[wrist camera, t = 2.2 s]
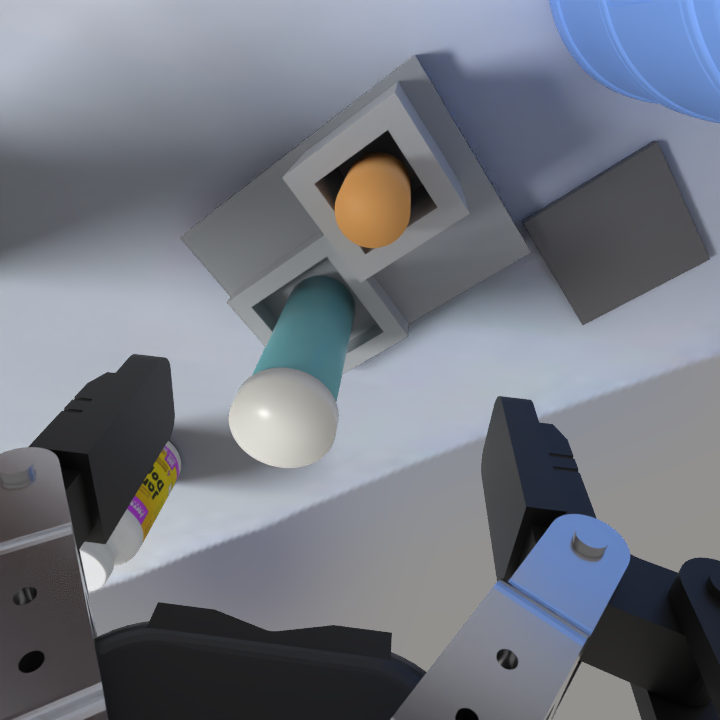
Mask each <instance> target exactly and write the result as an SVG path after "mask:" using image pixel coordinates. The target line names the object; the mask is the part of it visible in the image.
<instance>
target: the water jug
mask: <svg viewBox="0 0 720 720" xmlns="http://www.w3.org/2000/svg"><path fill="white" fill-rule="evenodd" d="M549 1H550V6H551V10H552V14H553V17H554V20H555V23H556V26H557V29H558V31H559V33H560V36H561V38H562V40H563V42H564V43H565V45H566V47H567V49H568V50H569V52H570V53H571V55H572V56H573V57H574V59H575V60H576V61H577V63H578V64H579V65H580V66H581V67H582V68H583V69H584V70H585V71H586V72H587V73H588V74H589V75H590V76H591V77H593V78H594V79H595V80H597V81H598V82H599V83H601V84H602V85H604V86H606V87H607V88H609V89H611V90H613V91H615V92H617V93H620V94H622V95H625V96H628V97H631V98H635V99H638V100H641V101H646V102H651V103H658V104H661V105H663V106H665V107H667V108H669V109H672V110H674V111H677V112H680V113H683V114H686V115H689V116H692V117H695V118H699V119H702V120H707V121H711V122H717V123H720V0H549Z"/></svg>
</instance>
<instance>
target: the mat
mask: <svg viewBox="0 0 720 720" xmlns="http://www.w3.org/2000/svg"><path fill="white" fill-rule="evenodd" d="M522 222H523V223H524V225H525V227H526V229H527V230H528V232H529V234H530V235H531V237H532V239H533V241H534V242H535V244H536V246H537V247H538V249H539V251H540V253H541V254H542V256H543V258H544V260H545V261H546V263H547V265H548V266H549V268H550V270H551V272H552V273H553V275H554V277H555V278H556V280H557V282H558V284H559V285H560V287H561V289H562V290H563V292H564V294H565V296H566V297H567V299H568V301H569V303H570V304H571V306H572V308H573V309H574V311H575V313H576V315H577V316H578V318H579V320H580V321H581V323H582V325H584V324H586V323H588V322H590V321H592V320H594V319H596V318H598V317H600V316H602V315H603V314H605V313H607V312H609V311H611V310H613V309H615V308H617V307H619V306H621V305H623V304H625V303H627V302H629V301H630V300H632V299H634V298H636V297H638V296H640V295H642V294H644V293H646V292H648V291H650V290H652V289H654V288H655V287H657V286H659V285H661V284H663V283H665V282H667V281H669V280H671V279H673V278H675V277H677V276H679V275H681V274H682V273H684V272H686V271H688V270H690V269H692V268H694V267H696V266H698V265H700V264H702V263H704V262H706V261H707V260H709V259H710V258H709V256H708V253H707V251H706V249H705V247H704V244H703V242H702V240H701V238H700V236H699V233H698V231H697V229H696V227H695V224H694V222H693V220H692V218H691V215H690V213H689V211H688V209H687V207H686V204H685V202H684V200H683V198H682V195H681V193H680V191H679V189H678V186H677V184H676V182H675V180H674V178H673V175H672V173H671V171H670V169H669V166H668V164H667V162H666V160H665V158H664V155H663V153H662V151H661V149H660V146H659V144H658V142H656V141H653V142H651V143H649V144H648V145H646V146H645V147H643V148H641V149H640V150H638V151H636V152H635V153H633V154H631V155H630V156H628V157H626V158H625V159H623V160H622V161H620V162H618V163H617V164H615V165H613V166H612V167H610V168H608V169H607V170H605V171H604V172H602V173H600V174H599V175H597V176H595V177H594V178H592V179H590V180H589V181H587V182H585V183H584V184H582V185H581V186H579V187H577V188H576V189H574V190H572V191H571V192H569V193H567V194H566V195H564V196H562V197H561V198H559V199H558V200H556V201H554V202H553V203H551V204H549V205H548V206H546V207H544V208H543V209H541V210H539V211H538V212H536V213H535V214H533V215H531V216H530V217H528V218H526V219H525V220H523V221H522Z"/></svg>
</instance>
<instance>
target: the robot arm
mask: <svg viewBox="0 0 720 720" xmlns="http://www.w3.org/2000/svg"><path fill="white" fill-rule="evenodd" d="M174 418H175V413H174V401H173V391H172V380H171V369H170V363H169V361H168V359H167V358H163V357H155V356H146V355H138V354H133V355H131V356H130V357H129V358H128V359H127V361H126V362H125V363H124V364H123V365H122V366H121V367H120V369H119V370H118V371H117V372H116V373H110V372H107V373H105V374H103V375H102V376H100V377H98V378H96V379H94V380H93V381H91V382H89V383H87V384H86V385H85V387H84V388H83V389H82V390H81V391H80V392H79V393H78V394H77V395H76V396H75V399H74V400H71V402H70V403H69V404H68V405H67V406H66V407H65V408H64V411H61V412H60V413H59V414H58V416H57V417H56V418H55V419H54V420H53V421H52V422H51V423H50V424H49V425H48V426H47V427H46V428H45V430H44V431H43V432H42V433H41V434H40V435H39V436H38V437H37V438H36V439H35V440H34V441H33V442H32V444H31V445H30V446H29V447H26V448H19V449H14V450H10V451H7V452H4V453H1V454H0V720H552V719H553V718H554V716H555V714H556V712H557V710H558V708H559V706H560V704H561V702H562V700H563V699H564V697H565V695H566V693H567V691H568V689H569V687H570V685H571V683H572V681H573V679H574V678H575V676H576V674H577V672H578V670H579V668H580V666H581V664H582V662H584V663H587V664H589V665H591V666H594V667H596V668H598V669H600V670H603V671H605V672H608V673H610V674H612V675H614V676H617V677H619V678H621V679H623V680H626V681H628V682H630V684H631V687H632V690H633V693H634V697H635V700H636V703H637V706H638V710H639V713H640V716H641V719H642V720H720V561H718V560H714V559H709V558H694V559H691V560H688V561H686V562H685V563H684V564H683V565H682V567H681V569H680V571H679V573H677V572H674V571H672V570H669V569H666V568H663V567H661V566H658V565H655V564H652V563H650V562H647V561H644V560H642V559H639V558H637V557H635V556H633V555H631V554H630V551H629V548H628V546H627V544H626V542H625V541H624V539H623V538H622V537H621V535H620V534H619V533H618V532H617V531H615V530H614V529H613V528H612V527H610V526H609V525H607V524H606V523H604V522H602V521H600V520H598V519H596V516H595V513H594V510H593V508H592V505H591V502H590V500H589V497H588V494H587V491H586V489H585V486H584V483H583V481H582V478H581V475H580V473H578V467H577V464H576V462H575V459H573V454H572V451H571V448H570V446H569V443H568V440H567V439H566V438H565V437H564V436H563V435H562V434H561V433H560V431H559V430H558V429H557V428H556V427H555V426H554V425H553V424H546V423H539V421H538V418H537V414H536V411H535V408H534V405H533V402H532V401H531V400H527V399H519V398H510V397H502V396H498V397H497V399H496V401H495V404H494V408H493V412H492V416H491V420H490V424H489V429H488V433H487V437H486V441H485V445H484V449H483V454H482V465H481V466H482V467H481V473H482V481H483V488H484V495H485V502H486V509H487V515H488V522H489V529H490V536H491V542H492V549H493V556H494V562H495V569H496V576H497V583H496V584H495V585H494V586H493V588H492V589H491V590H490V591H489V593H488V594H487V595H486V597H485V598H484V599H483V600H482V602H481V603H480V604H479V606H478V607H477V608H476V610H475V611H474V612H473V613H472V615H471V616H470V617H469V618H468V620H467V621H466V622H465V624H464V625H463V626H462V628H461V629H460V630H459V631H458V633H457V634H456V635H455V637H454V638H453V639H452V641H451V642H450V643H449V644H448V646H447V647H446V648H445V650H444V651H443V652H442V654H441V655H440V656H439V657H438V659H437V660H436V661H435V663H434V664H433V665H432V666H431V668H430V669H429V670H428V671H427V672H425V671H424V670H423V669H421V668H420V667H418V666H417V665H416V664H414V663H412V662H410V661H409V660H407V659H405V658H403V657H401V656H399V655H397V654H394V653H392V652H391V637H392V633H388V632H381V631H374V630H366V629H358V628H350V627H343V626H335V625H332V626H323V627H313V628H304V629H295V630H285V631H267V630H264V629H262V628H259V627H257V626H254V625H252V624H249V623H247V622H244V621H242V620H239V619H237V618H234V617H232V616H229V615H226V614H224V613H222V612H219V611H217V610H213V609H205V608H197V607H189V606H182V605H175V604H167V603H158V604H157V606H156V608H155V610H154V613H153V615H152V617H151V619H150V621H148V622H141V623H136V624H132V625H127V626H125V627H122V628H118V629H115V630H112V631H110V632H108V633H105V634H103V635H101V636H97V632H96V627H95V622H94V617H93V612H92V608H91V602H90V597H89V592H88V587H87V583H86V578H85V573H84V568H83V563H82V558H81V554H80V550H79V549H80V548H81V546H82V545H83V543H84V542H91V543H99V544H106V543H107V541H108V540H109V538H110V536H111V535H112V533H113V531H114V530H115V528H116V526H117V525H118V523H119V521H120V520H121V518H122V516H123V515H124V513H125V511H126V510H127V508H128V506H129V505H130V503H131V501H132V500H133V498H134V496H135V495H136V493H137V492H138V490H139V488H140V487H141V485H142V483H143V482H144V480H145V478H146V477H147V475H148V473H149V472H150V470H151V468H152V467H153V465H154V463H155V462H156V460H157V458H158V457H159V455H160V453H161V452H162V450H163V448H164V447H165V445H166V443H167V442H168V440H169V438H170V436H171V433H172V430H173V426H174Z"/></svg>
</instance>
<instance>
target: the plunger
mask: <svg viewBox="0 0 720 720" xmlns="http://www.w3.org/2000/svg"><path fill="white" fill-rule="evenodd" d="M410 211H411V180H410V176H409V173H408V171H407V169H406V167H405V166H404V164H403V163H402V162H401V161H400V160H399V159H397V158H396V157H394V156H392V155H390V154H387V153H382V152H374V153H369V154H366V155H364V156H362V157H361V158H359V159H358V160H357V161H355V163H354V164H353V165H352V166H351V168H350V170H349V171H348V174H347V176H346V178H345V180H344V182H343V184H342V187H341V189H340V191H339V193H338V195H337V198H336V202H335V218H336V221H337V224H338V226H339V228H340V230H341V232H342V233H343V234H344V235H345V236H346V237H347V238H348V239H349V240H350V241H352V242H353V243H355V244H357V245H359V246H362V247H366V248H380V247H384V246H387V245H389V244H391V243H393V242H394V241H396V240H397V239H398V238H399V237H400V236H401V235H402V234H403V233H404V231H405V229H406V228H407V225H408V223H409V219H410Z"/></svg>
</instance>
